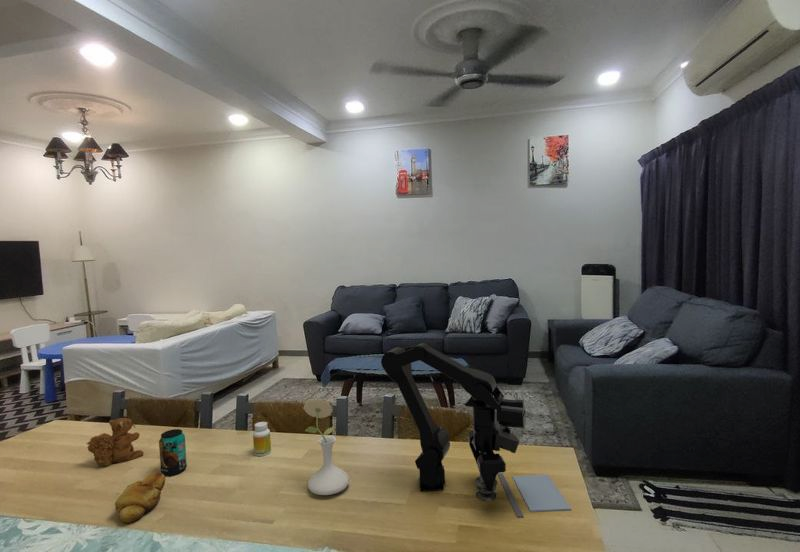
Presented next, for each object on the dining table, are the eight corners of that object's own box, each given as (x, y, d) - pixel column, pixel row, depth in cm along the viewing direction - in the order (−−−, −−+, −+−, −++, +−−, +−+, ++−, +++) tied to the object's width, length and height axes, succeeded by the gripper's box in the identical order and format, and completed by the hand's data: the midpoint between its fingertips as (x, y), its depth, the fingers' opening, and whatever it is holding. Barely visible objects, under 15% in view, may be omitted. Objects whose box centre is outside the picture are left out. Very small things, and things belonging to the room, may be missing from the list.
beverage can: (155, 474, 129) (153, 436, 128) (175, 464, 135) (173, 427, 134) (172, 478, 126) (169, 439, 125) (192, 467, 132) (189, 429, 132)
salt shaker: (498, 502, 108) (497, 456, 107) (474, 500, 109) (473, 454, 108) (497, 489, 113) (496, 445, 113) (475, 488, 114) (474, 444, 114)
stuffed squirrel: (146, 454, 143) (144, 416, 142) (99, 473, 131) (96, 431, 130) (131, 448, 148) (129, 411, 147) (84, 466, 136) (81, 425, 135)
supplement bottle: (268, 456, 138) (266, 427, 137) (251, 456, 138) (249, 427, 137) (273, 448, 143) (271, 420, 143) (257, 449, 143) (255, 421, 143)
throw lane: (517, 517, 101) (517, 516, 101) (497, 474, 121) (497, 473, 121) (574, 515, 101) (574, 513, 101) (545, 472, 121) (545, 471, 121)
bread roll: (140, 526, 104) (138, 494, 103) (101, 527, 104) (99, 495, 103) (170, 496, 116) (168, 468, 116) (135, 497, 117) (133, 469, 116)
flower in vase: (357, 481, 120) (353, 394, 119) (334, 503, 110) (330, 408, 109) (319, 473, 126) (315, 390, 124) (294, 493, 115) (289, 403, 114)
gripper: (526, 437, 101) (527, 501, 102) (506, 409, 119) (507, 463, 120) (479, 439, 101) (481, 503, 102) (466, 410, 119) (468, 464, 120)
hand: (486, 481), depth 111 cm, fingers closed on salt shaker, 8 cm apart
